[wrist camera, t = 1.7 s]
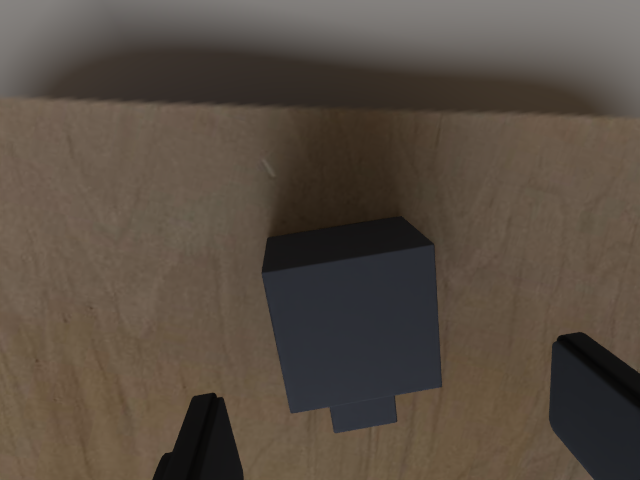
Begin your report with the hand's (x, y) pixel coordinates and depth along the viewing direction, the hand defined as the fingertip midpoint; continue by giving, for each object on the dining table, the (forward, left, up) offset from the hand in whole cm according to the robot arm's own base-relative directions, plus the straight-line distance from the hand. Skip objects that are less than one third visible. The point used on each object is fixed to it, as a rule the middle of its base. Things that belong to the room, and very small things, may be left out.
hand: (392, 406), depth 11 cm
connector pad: (+1, 0, -7) cm, 8 cm away
